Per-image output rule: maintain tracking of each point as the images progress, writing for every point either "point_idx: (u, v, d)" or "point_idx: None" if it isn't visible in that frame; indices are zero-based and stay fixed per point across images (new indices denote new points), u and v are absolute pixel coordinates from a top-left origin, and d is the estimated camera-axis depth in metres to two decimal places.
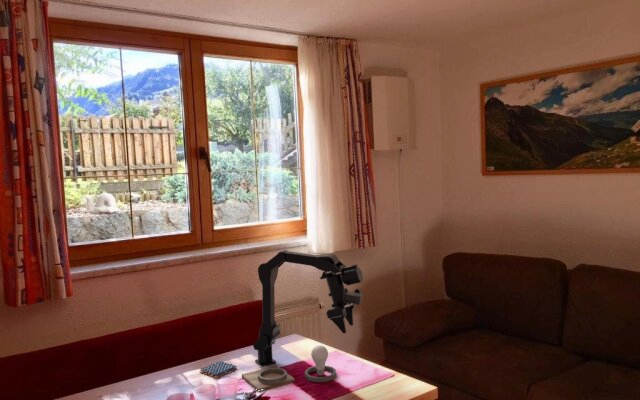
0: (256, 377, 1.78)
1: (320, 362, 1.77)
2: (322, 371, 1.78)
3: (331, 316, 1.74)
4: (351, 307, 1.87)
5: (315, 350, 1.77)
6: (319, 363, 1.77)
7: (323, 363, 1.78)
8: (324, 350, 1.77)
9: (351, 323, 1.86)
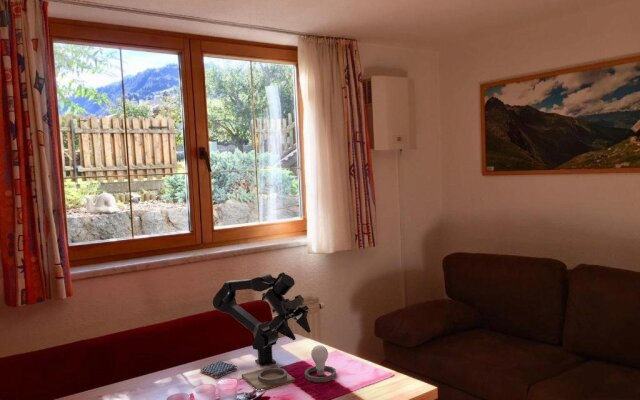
0: (256, 377, 1.78)
1: (320, 362, 1.77)
2: (322, 371, 1.78)
3: (272, 327, 1.79)
4: (302, 315, 1.89)
5: (315, 350, 1.77)
6: (319, 363, 1.77)
7: (323, 363, 1.78)
8: (324, 350, 1.77)
9: (308, 330, 1.87)
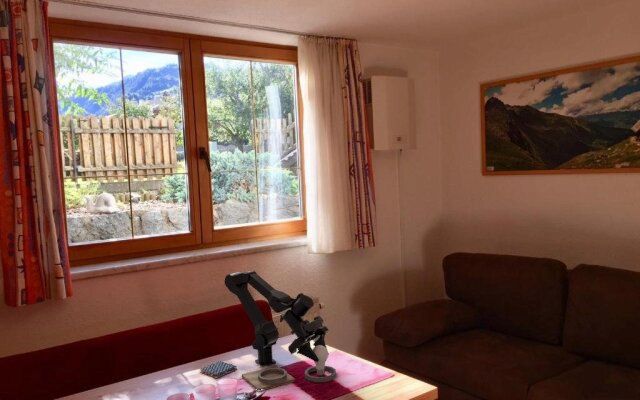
0: (256, 377, 1.78)
1: (320, 362, 1.77)
2: (322, 371, 1.78)
3: (292, 351, 1.74)
4: (320, 338, 1.83)
5: (315, 350, 1.77)
6: (319, 363, 1.77)
7: (323, 363, 1.78)
8: (324, 350, 1.77)
9: None
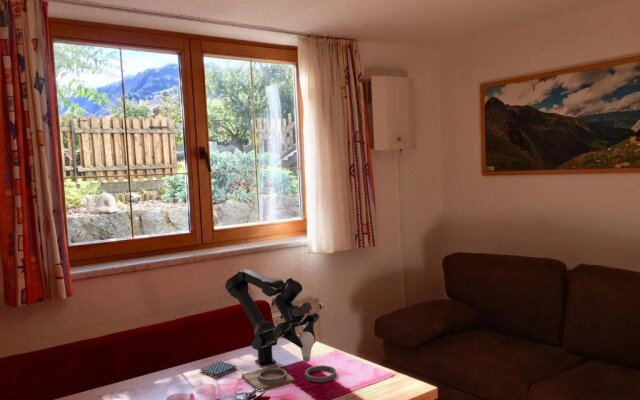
0: (256, 377, 1.78)
1: (305, 348, 1.75)
2: (307, 358, 1.76)
3: (276, 335, 1.74)
4: (308, 324, 1.81)
5: (300, 336, 1.76)
6: (304, 349, 1.75)
7: (308, 350, 1.75)
8: (309, 337, 1.75)
9: None
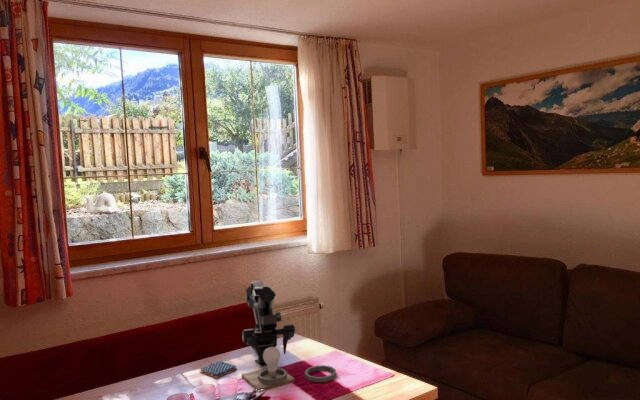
0: (256, 377, 1.78)
1: (267, 363, 1.75)
2: (271, 373, 1.76)
3: (243, 340, 1.79)
4: (283, 334, 1.79)
5: (265, 350, 1.77)
6: (267, 364, 1.76)
7: (271, 365, 1.75)
8: (271, 353, 1.74)
9: (284, 351, 1.77)
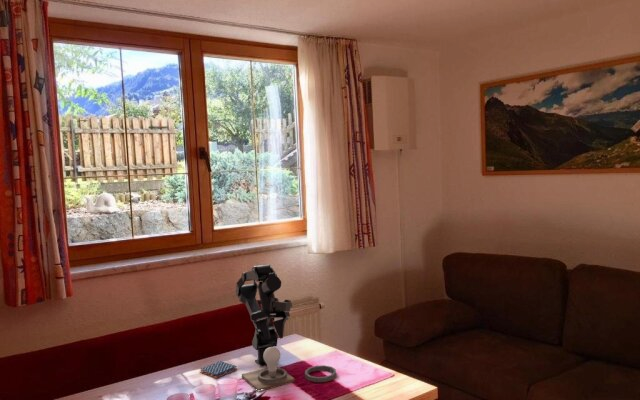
0: (256, 377, 1.78)
1: (267, 363, 1.75)
2: (271, 373, 1.76)
3: (254, 318, 1.78)
4: (282, 320, 1.89)
5: (265, 350, 1.77)
6: (267, 364, 1.76)
7: (271, 365, 1.75)
8: (271, 352, 1.74)
9: (281, 336, 1.87)
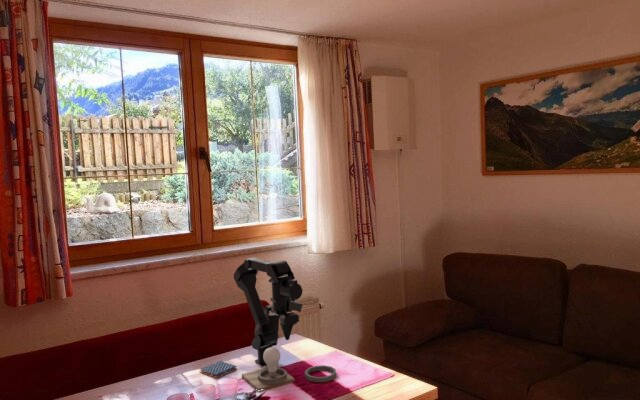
0: (256, 377, 1.78)
1: (267, 364, 1.75)
2: (271, 373, 1.76)
3: (289, 322, 1.76)
4: (279, 315, 1.90)
5: (265, 350, 1.76)
6: (267, 364, 1.75)
7: (271, 366, 1.75)
8: (271, 353, 1.74)
9: (277, 331, 1.88)
